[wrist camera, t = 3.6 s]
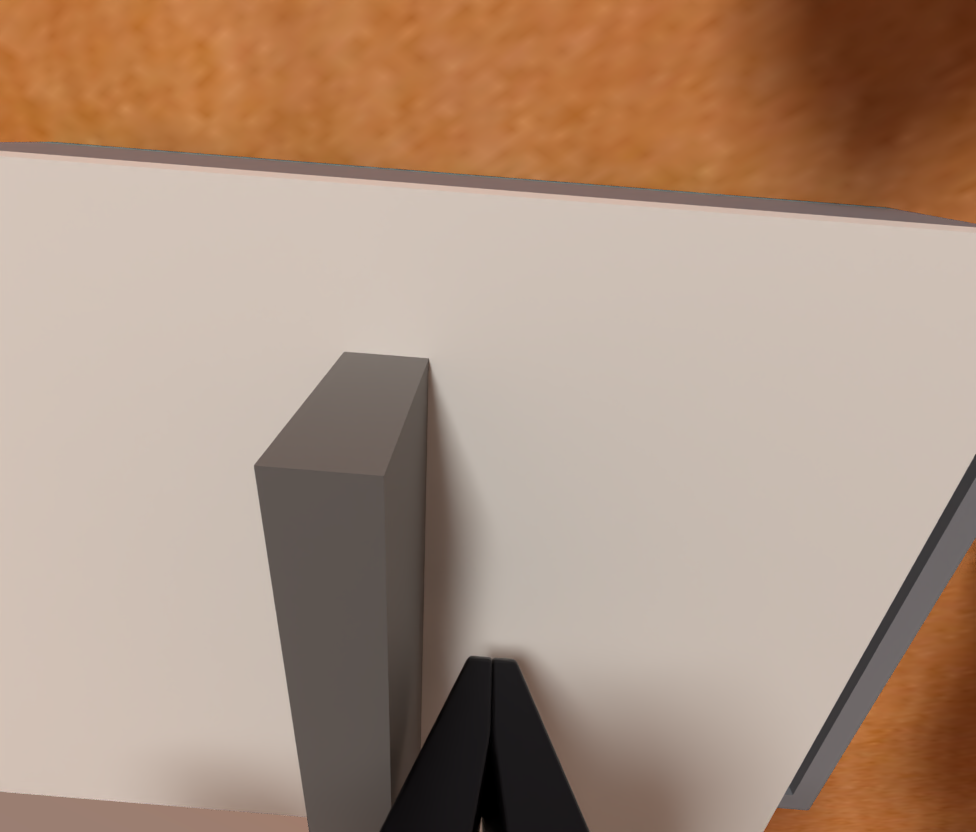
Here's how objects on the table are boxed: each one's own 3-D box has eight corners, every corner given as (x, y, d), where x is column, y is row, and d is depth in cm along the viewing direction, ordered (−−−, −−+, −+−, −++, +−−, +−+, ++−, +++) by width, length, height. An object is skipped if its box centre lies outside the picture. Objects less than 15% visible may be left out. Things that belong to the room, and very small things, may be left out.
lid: (1038, 231, 7) (1489, 312, 4) (738, 817, 14) (811, 1035, 10) (-458, 114, 7) (-1275, 93, 4) (-51, 751, 14) (-232, 947, 11)
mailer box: (885, 207, 13) (1148, 255, 8) (726, 624, 19) (808, 810, 14) (51, 142, 13) (-269, 144, 8) (168, 579, 19) (38, 746, 14)
